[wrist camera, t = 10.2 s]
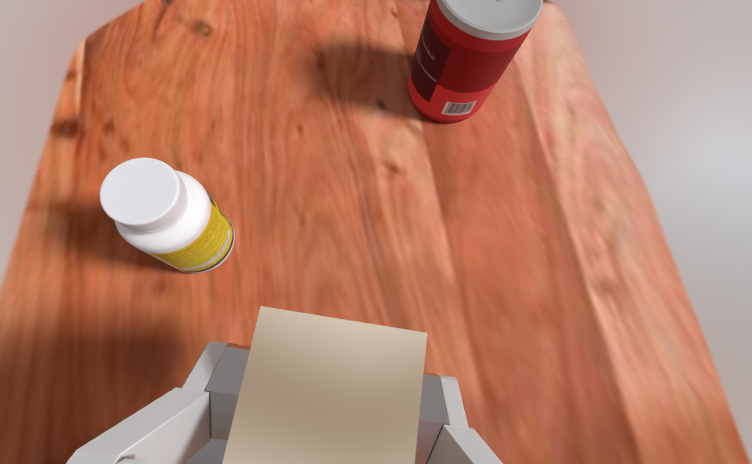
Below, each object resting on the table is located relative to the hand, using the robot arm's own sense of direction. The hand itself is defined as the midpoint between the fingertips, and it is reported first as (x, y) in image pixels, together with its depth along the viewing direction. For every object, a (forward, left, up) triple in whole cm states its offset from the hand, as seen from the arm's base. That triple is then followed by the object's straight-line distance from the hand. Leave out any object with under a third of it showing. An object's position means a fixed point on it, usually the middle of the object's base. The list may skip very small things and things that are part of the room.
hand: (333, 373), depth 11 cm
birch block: (-1, 0, -5) cm, 5 cm away
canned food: (+17, -21, -18) cm, 32 cm away
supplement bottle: (+13, +5, -18) cm, 23 cm away
